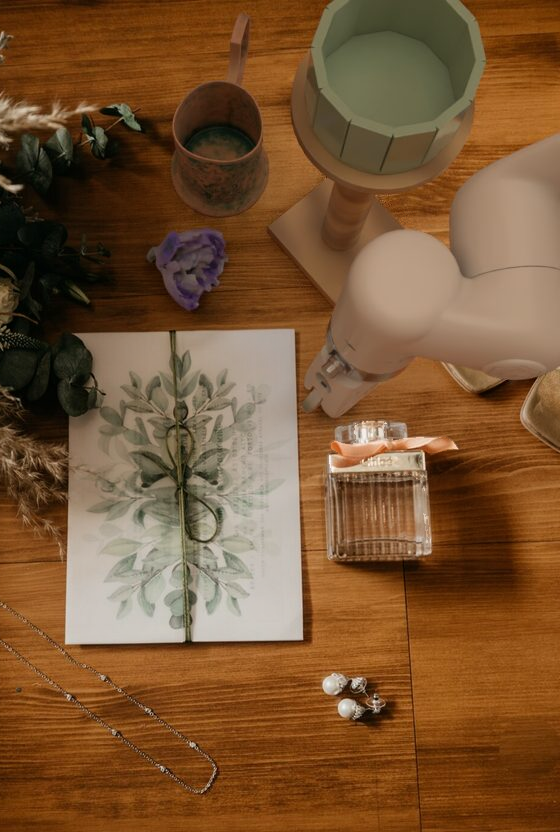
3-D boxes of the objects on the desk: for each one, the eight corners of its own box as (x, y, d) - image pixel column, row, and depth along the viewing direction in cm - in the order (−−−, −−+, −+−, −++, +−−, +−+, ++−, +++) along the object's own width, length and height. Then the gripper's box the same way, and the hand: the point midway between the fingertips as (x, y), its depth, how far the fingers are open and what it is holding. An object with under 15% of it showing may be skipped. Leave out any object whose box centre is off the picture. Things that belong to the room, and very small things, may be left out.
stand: (345, 152, 85) (391, -20, 59) (428, 245, 84) (513, 111, 58) (248, 230, 84) (253, 90, 58) (332, 325, 83) (374, 225, 57)
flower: (108, 265, 77) (188, 258, 73) (137, 213, 81) (215, 204, 77) (145, 327, 84) (221, 324, 80) (171, 277, 88) (243, 271, 84)
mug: (291, 90, 86) (299, 16, 74) (255, 227, 84) (258, 174, 72) (198, 68, 86) (191, -9, 74) (160, 204, 85) (147, 147, 73)
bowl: (390, -1, 59) (406, -58, 54) (492, 109, 58) (519, 63, 53) (274, 92, 58) (277, 44, 53) (375, 205, 58) (390, 169, 52)
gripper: (329, 432, 57) (308, 460, 75) (478, 306, 58) (421, 364, 76) (268, 361, 58) (262, 406, 76) (417, 238, 59) (375, 312, 77)
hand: (342, 385), depth 76 cm, fingers closed
